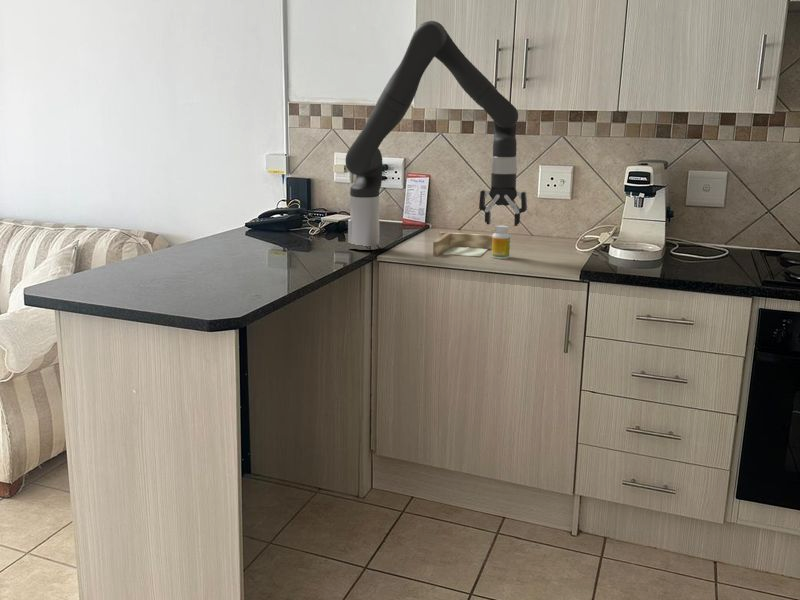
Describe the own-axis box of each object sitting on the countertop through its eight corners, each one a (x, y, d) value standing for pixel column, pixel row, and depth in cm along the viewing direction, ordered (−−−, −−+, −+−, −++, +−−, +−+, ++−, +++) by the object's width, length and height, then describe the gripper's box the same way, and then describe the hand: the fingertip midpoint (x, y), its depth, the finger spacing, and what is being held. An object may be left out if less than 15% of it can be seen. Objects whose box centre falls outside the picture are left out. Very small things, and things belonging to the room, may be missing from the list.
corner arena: (426, 255, 248) (426, 241, 247) (440, 245, 264) (440, 231, 263) (482, 259, 243) (483, 245, 242) (493, 248, 259) (494, 235, 257)
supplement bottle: (508, 259, 243) (509, 228, 240) (490, 258, 244) (492, 227, 241) (509, 256, 248) (511, 225, 245) (492, 255, 249) (493, 224, 246)
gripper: (478, 172, 238) (476, 225, 242) (525, 173, 233) (523, 228, 237) (483, 169, 244) (482, 222, 249) (529, 171, 240) (527, 224, 244)
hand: (502, 224), depth 243 cm, fingers open, 8 cm apart
